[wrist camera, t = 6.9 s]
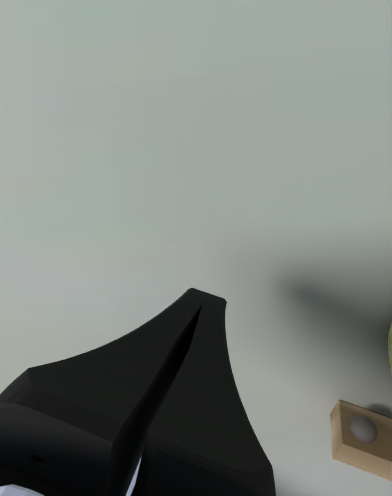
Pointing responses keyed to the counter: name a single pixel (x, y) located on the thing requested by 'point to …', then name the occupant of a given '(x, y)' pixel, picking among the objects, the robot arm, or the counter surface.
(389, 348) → the bread roll
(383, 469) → the frame
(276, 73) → the counter surface
